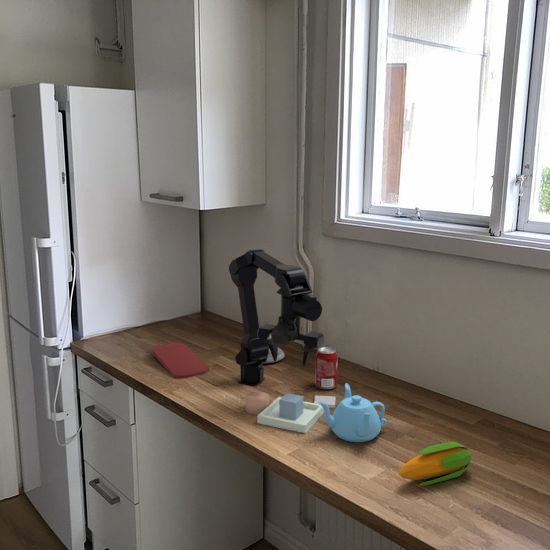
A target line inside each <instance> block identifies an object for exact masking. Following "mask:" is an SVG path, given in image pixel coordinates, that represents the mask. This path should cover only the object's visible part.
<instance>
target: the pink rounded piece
mask: <svg viewBox="0 0 550 550" xmlns="http://www.w3.org/2000/svg"><path fill="white" fill-rule="evenodd" d="M270 402H271V401H270V394H268V393H267V392H264V391H253V392H252V391H251V392H248V393H247V394H245V396H244V410H245V412H246V413H247V414H249V415H257V416H258V415H259V414H260V413H261V412H262V411H263V410H264V409H266V408H267V407H268V406H269V405H270V404H271V403H270Z"/></svg>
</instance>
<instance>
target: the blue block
mask: <svg viewBox="0 0 550 550" xmlns="http://www.w3.org/2000/svg"><path fill="white" fill-rule="evenodd" d="M281 397H282V398H281V399H280V400H279V417H283V418H288V419H292V420H297V419H298V418H299V417H300V416H301V415H302V414H303V401H304V396H303V395H298V394H293V393H285V394H284V395H283V396H281Z"/></svg>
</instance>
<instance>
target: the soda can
mask: <svg viewBox="0 0 550 550" xmlns="http://www.w3.org/2000/svg"><path fill="white" fill-rule="evenodd" d="M338 360H339V356H338V353H337V350H336V348H334V347H330V346H329V347H328V346H322V347H318V348H317V353H316V354H315V374H314V375H315V377H314V378H315V379H314V381H315V386H316V387H317V388H319V389H320V390H325V391H326V390H327V391H328V390H329V391H330V390H333V389H335V388H337V386H338V366H339V365H338V362H339V361H338Z"/></svg>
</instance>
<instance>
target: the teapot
mask: <svg viewBox="0 0 550 550" xmlns="http://www.w3.org/2000/svg"><path fill="white" fill-rule="evenodd" d="M344 388H345V389H344V398H343V399H342V400H341V401H340V402H339V404H338V405H337V407H335V408H334V412H333V413H332V414H331V413H330V412H331V411H330V408H329V407H328V405H327V404H326V403H324V402H317V403H319V404H320V405H322V407H323V409H324V413H323V417H324V420H325V423H326V425H328V426H329V427H330V428H331V430H332V432H333V433H334V434H335V435H336V436H337V437H338V438H339V439H341V440H343V441H345V442H350V443H365V442H369V441H371V440H373V439H375V438H376V437H378V435H379V434H380V432H381V430H382V428H383V427H385V426H386V425H387V419H386V418H383V417H384V415H385V412H386V409H385V405H384V404H383V402H380V401H373V402H371V401H370V400H368V399H366V398H364V397H362V396H360V395H352V391H351V387H350V384H349V383H347V382H346V383H344ZM376 406H380V413H378V412H377V410H376V408H375V407H376Z"/></svg>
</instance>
